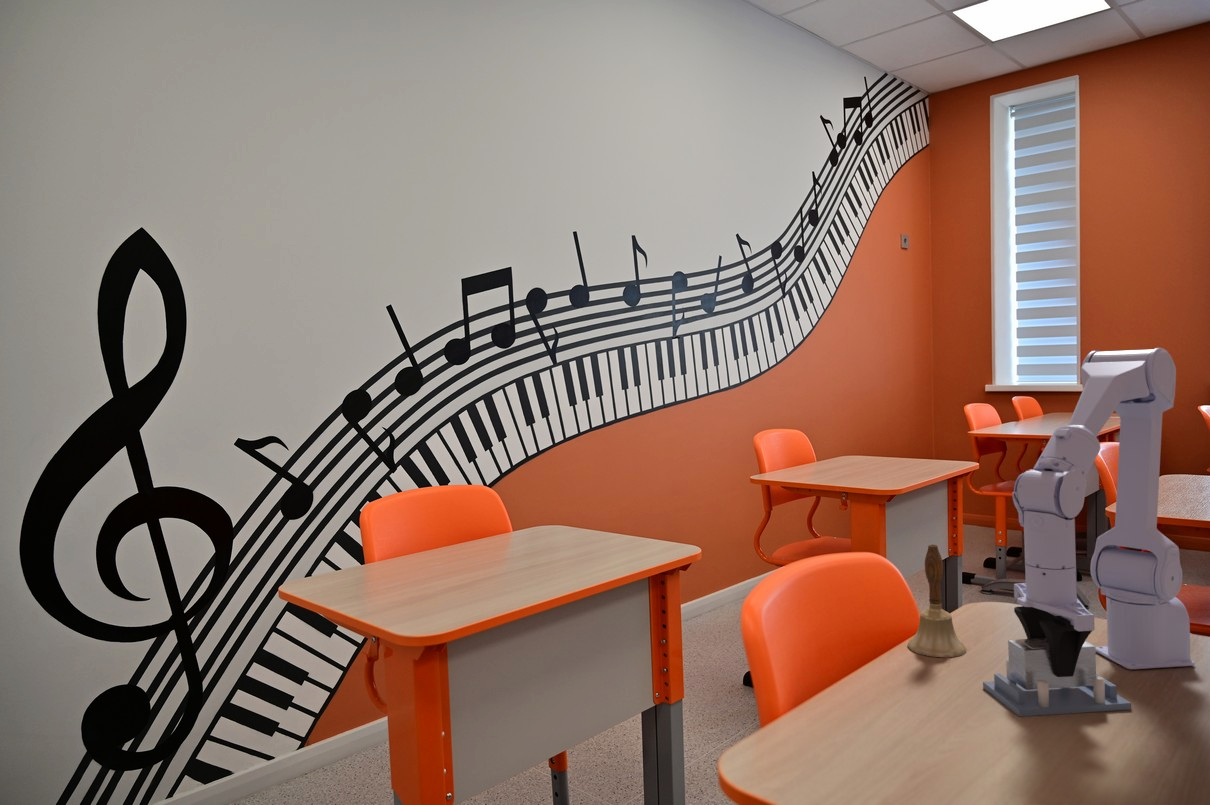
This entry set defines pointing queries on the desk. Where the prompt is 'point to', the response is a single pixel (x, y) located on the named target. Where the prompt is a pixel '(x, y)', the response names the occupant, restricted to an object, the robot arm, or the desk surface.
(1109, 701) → the grey peg stand
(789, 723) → the desk surface
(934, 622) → the hand bell
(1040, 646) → the block
